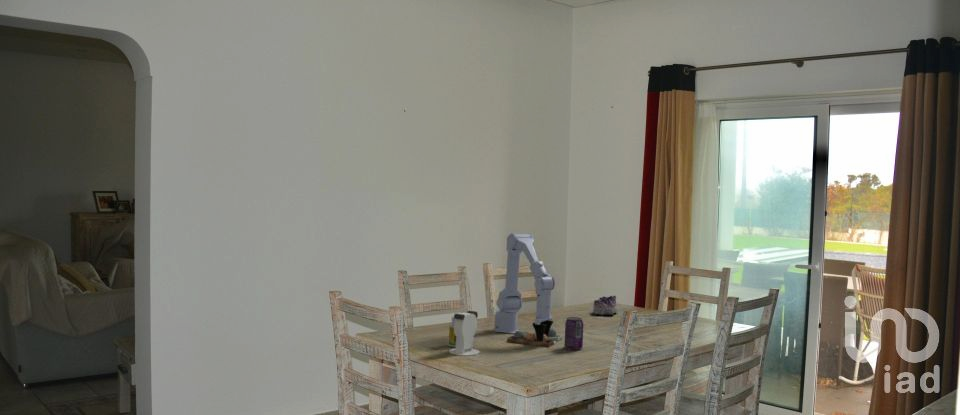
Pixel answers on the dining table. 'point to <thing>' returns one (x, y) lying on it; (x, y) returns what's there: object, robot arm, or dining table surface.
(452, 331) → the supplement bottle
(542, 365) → the dining table surface
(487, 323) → the dining table surface
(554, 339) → the sage trough
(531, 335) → the terracotta ball
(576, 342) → the beverage can
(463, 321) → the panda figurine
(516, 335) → the grey ball
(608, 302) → the geode
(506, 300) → the robot arm
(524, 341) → the walnut trough
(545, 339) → the terracotta ball
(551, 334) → the grey ball
